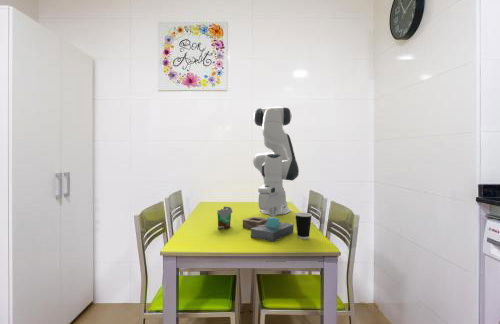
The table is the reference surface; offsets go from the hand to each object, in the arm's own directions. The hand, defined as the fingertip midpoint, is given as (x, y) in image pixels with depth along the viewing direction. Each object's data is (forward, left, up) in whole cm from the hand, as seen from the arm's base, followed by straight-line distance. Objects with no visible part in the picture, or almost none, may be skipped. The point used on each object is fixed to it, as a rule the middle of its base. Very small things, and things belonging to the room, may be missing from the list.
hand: (273, 216), depth 148 cm
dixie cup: (-4, +14, -9) cm, 17 cm away
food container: (+2, -27, -9) cm, 29 cm away
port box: (0, 0, -9) cm, 9 cm away
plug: (0, 0, -9) cm, 9 cm away
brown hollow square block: (-8, -15, -9) cm, 19 cm away
